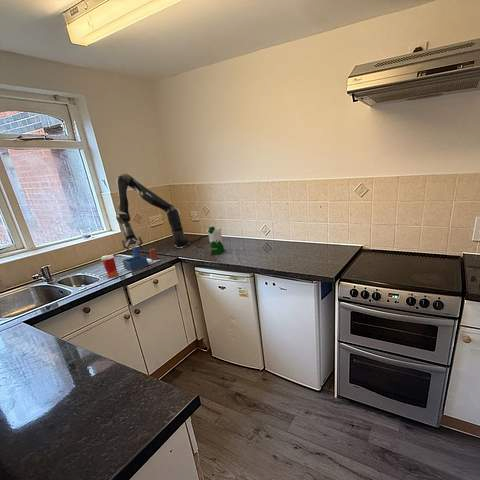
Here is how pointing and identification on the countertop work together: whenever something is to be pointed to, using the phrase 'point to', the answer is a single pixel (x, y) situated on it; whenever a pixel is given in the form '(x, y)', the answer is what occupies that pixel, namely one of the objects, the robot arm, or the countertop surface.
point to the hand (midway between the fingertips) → (135, 249)
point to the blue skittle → (135, 251)
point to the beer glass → (109, 265)
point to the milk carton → (215, 240)
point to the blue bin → (135, 262)
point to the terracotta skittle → (153, 254)
